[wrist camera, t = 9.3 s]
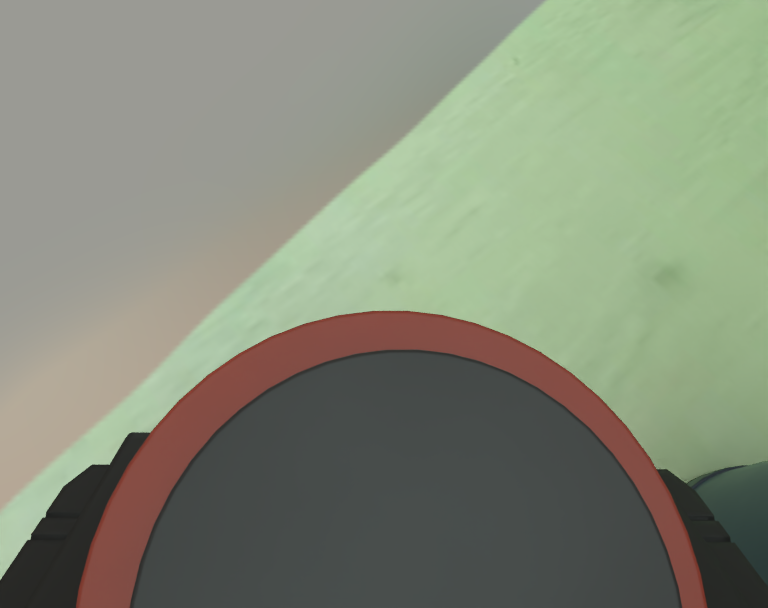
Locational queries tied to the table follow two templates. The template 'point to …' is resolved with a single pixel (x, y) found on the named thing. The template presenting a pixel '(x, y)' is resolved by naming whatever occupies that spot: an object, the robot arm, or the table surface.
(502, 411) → the lid
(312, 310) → the table surface
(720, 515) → the flask
